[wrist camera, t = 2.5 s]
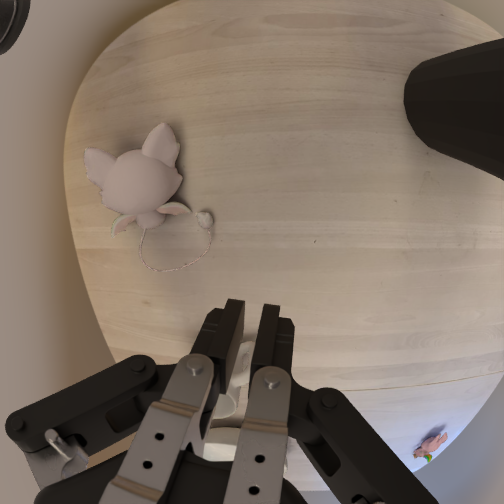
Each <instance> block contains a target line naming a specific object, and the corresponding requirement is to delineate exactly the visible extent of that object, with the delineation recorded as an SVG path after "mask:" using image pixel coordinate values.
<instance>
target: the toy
mask: <svg viewBox="0 0 504 504" xmlns="http://www.w3.org/2000/svg"><path fill="white" fill-rule="evenodd" d="M179 151H180V144H179V142H176V139H175V135H174V132H173V130H172V128H171V127H170V126H169V125H168V124H167V123H160V124H159V125H157V126H156V127H155V128H154V129H153V130H152V131H151V132H150V134H149V135H148V137H147V138H146V140H145V142H144V144H143V147H142V149H137V150H131V151H128V152H126V153H123V154H122V155H120V156H119V157H118V158H116V157H114V156H113V155H111V154H110V153H108V152H106V151H104V150H102V149H98V148H93V147H90V148H86V150H85V152H84V162H85V166H86V168H87V172H86V174H87V177H88V178H89V180H90V181H91V182H93V183H94V184H95V185H97V186H98V187H100V188H101V190H102V191H100V192H99V194H100V195H101V196H102V204H103V205H104V206H105V207H107V208H109V209H111V210H114V211H116V212H119V213H122V214H121V215H120V216H118V217H117V218H116V219H115V220H114V222H113V224H112V228H111V237H112V238H113V237H115V236H116V235H117V234H118V233H119V232H121V231H126V226H127V225H128V224H129V223H131V222H132V221H134V220H136V222H137V224H138V225H139V226H140V227H141V228H144V232H143V235H142V238H141V242H140V247H139V256H140V258H141V261H142V262H143V264H144V265H145V266H146V267H148V268H149V269H151V270H154V271H161V272H168V271H174V270H178V269H181V268H184V267H187V266H189V265H191V264H193V263H194V262H196V261H197V260H199V259H200V258H201V257H202V256H203V255H204V254H205V253H206V252H207V251H208V249H209V247H210V244H211V235H210V231H209V229H210V228H211V227H212V225H213V219H212V217H211V215H210V214H209V213H208V212H207V213H204V212H197V213H196V214H195V215H196V217H197V218H198V222H199V224H200V226H201V227H202V228H204V229H208V233H209V238H210V242H209V246H208V249H207V250H206V252H205V253H204V254H203V255H202V256H200V257H199V258H198V259H197V260H195V261H193V262H192V263H190V264H188V265H185V266H183V267H180V268H177V269H171V270H155V269H152V268H150V267H149V266H147V265H146V264H145V262H144V261H143V259H142V256H141V248H142V243H143V239H144V236H145V232H146V229H153V228H156V227H158V226H160V225H161V224H162V223H163V222H164V220H165V217H166V216H165V213H169V214H173V215H175V216H176V215H177V214H180V213H191V212H192V211H191V210H190V209H189V208H188V207H186V206H185V205H184V204H182V203H179V202H168V203H166V201H168V200H169V199H170V198H171V196H172V195H173V194H174V193H175V192H176V191H177V189H178V188H179V186H180V184H181V182H182V178H183V177H182V175H180V174H178V172H177V169H176V168H175V161H176V159H177V157H178V154H179Z"/></svg>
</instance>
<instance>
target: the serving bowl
mask: <svg viewBox="0 0 504 504" xmlns="http://www.w3.org/2000/svg"><path fill="white" fill-rule="evenodd" d="M240 430H241V429H239V428H230V427H220V428H212V429H209V432H208V435H207V438H206V442H205V445H204V454H203V458H204V459H206V460H208V461H233V460H234V456H235V452H236V447H237V443H238V439H239V434H240ZM286 472H287V458H286V457H285V466H284V473H283V475H284V474H285V473H286Z"/></svg>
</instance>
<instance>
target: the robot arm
mask: <svg viewBox="0 0 504 504" xmlns="http://www.w3.org/2000/svg"><path fill="white" fill-rule="evenodd" d="M17 11H18V0H0V44H1V43H2V42H3V41H4V40H5V38H6V37H7V35H8V34H9V32H10V30H11V28H12V26H13V24H14V21H15V18H16V15H17ZM279 312H280V306H279V305H271V304H264V306H263V311H262V316H261V320H260V325H259V329H258V334H257V338H256V342H255V347H254V351H253V356H252V360H251V367H250V379H249V391H248V404H247V408H246V413H245V418H244V421H243V422H242V426H241V430H240V434H239V439H238V443H237V447H236V452H235V456H234V460H233V461H208V460H206V459H204V458H203V454H204V445H205V442H206V438H207V435H208V432H209V429H210V426H211V423H212V419H213V416H214V413H215V410H216V404H217V401H218V397H219V394H223V395H226V393H227V390H228V386H229V383H230V379H231V376H232V372H233V369H234V365H235V362H236V358H237V355H238V351H239V348H240V344H241V341H242V336H243V330H244V314H245V301H242V300H236V299H228V300H227V303H226V305H225V308H224V309H220V308H214V309H213V310H212V311H211V312H209V313H208V314H207V316H206V319H205V321H204V324H203V325H202V327H201V330H200V332H199V334H198V336H197V338H196V341H195V343H194V345H193V347H192V350H191V352H190V354H189V355H186V356H184V357H183V358H181V359H180V360H179V362H178V363H176V364H171V365H156V364H155V362H154V360H153V359H152V358H150V357H149V356H146V355H134V356H131V357H129V358H127V359H125V360H123V361H121V362H119V363H117V364H115V365H113V366H111V367H109V368H107V369H105V370H103V371H101V372H99V373H97V374H95V375H93V376H90V377H88V378H86V379H84V380H82V381H80V382H78V383H76V384H74V385H72V386H70V387H68V388H65V389H63V390H61V391H59V392H57V393H55V394H53V395H50V396H48V397H46V398H44V399H42V400H40V401H38V402H36V403H33V404H31V405H28V406H26V407H24V408H22V409H20V410H17V411H15V412H13V413H12V414H10V415H9V417H8V418H7V420H6V424H5V430H6V433H7V435H8V436H9V437H10V438H11V439H12V440H13V441H14V442H15V443H16V444H17V445H18V447H19V448H20V449H21V450H22V451H23V452H24V454H25V456H26V459H27V461H28V463H29V466H30V468H31V471H32V473H33V475H34V477H35V479H36V482H37V484H38V486H39V488H40V490H41V491H40V492H39V493H38V495H37V496H36V498H35V501H34V504H308V503H307V502H306V501H305V500H304V498H303V497H302V495H301V494H300V493H299V491H298V490H297V489H296V488H295V487H294V486H293V485H292V484H291V483H290V482H289V481H288V480H286V479H285V478H283V473H284V466H285V457H286V449H287V440H288V436H290V437H292V438H295V439H296V441H297V443H298V444H299V446H300V447H301V449H302V450H303V452H304V453H305V455H306V456H307V458H308V459H309V460H310V462H311V463H312V465H313V466H314V468H315V469H316V470H317V472H318V473H319V475H320V476H321V477H322V479H323V480H324V481H325V483H326V484H327V486H328V487H329V488H330V490H331V491H332V492H333V494H334V495H335V496H336V498H337V499H338V500H339V502H340V503H341V504H439V503H438V501H437V500H436V499H435V498H434V497H433V496H432V495H431V493H430V492H429V491H428V490H427V489H426V488H425V487H424V486H423V485H422V483H421V482H420V481H419V480H418V479H417V478H416V477H415V476H414V475H413V473H412V472H411V471H410V470H409V469H408V468H407V467H406V466H405V464H404V463H403V462H402V461H401V460H400V459H399V458H398V457H397V455H396V454H395V453H394V452H393V451H392V450H391V449H390V448H389V446H388V445H387V444H386V443H385V442H384V441H383V440H382V438H381V437H380V436H379V435H378V434H377V433H376V432H375V430H374V429H373V428H372V427H371V426H370V425H369V423H368V422H367V421H366V420H365V419H364V418H363V416H362V415H361V414H360V413H359V412H358V411H357V410H356V408H355V407H354V406H353V405H352V404H351V403H350V401H349V400H348V399H347V398H346V397H345V395H344V394H343V393H341V392H340V391H338V390H337V389H334V388H328V387H326V388H320V389H318V390H316V391H312V390H309V389H306V388H304V387H302V386H300V385H299V384H298V383H296V381H295V380H294V379H293V377H292V374H291V366H292V355H293V343H294V331H295V326H294V324H293V322H292V320H291V319H290V318H282V317H279ZM136 431H137V433H136V435H135V437H134V439H133V441H132V444H131V446H130V448H129V450H126V451H124V452H122V453H120V454H118V455H116V456H114V457H112V458H110V459H108V460H106V461H104V462H102V463H100V464H98V465H95V466H93V467H91V468H89V469H87V470H86V468H87V464H88V459H89V458H88V457H89V456H91V455H93V454H95V453H97V452H99V451H101V450H103V449H105V448H107V447H108V446H111V445H112V444H114V443H116V442H118V441H120V440H122V439H123V438H125V437H127V436H129V435H130V434H132V433H134V432H136ZM81 471H82V472H81ZM79 472H80V473H79Z"/></svg>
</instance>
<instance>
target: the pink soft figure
mask: <svg viewBox="0 0 504 504" xmlns="http://www.w3.org/2000/svg"><path fill="white" fill-rule="evenodd" d="M440 435H441V434H439V435H438V436H437V437H430V438H428V439H427V440H426V441H424V442H423V443H422V444H421V448H419V449H417V450H416V451H414V454H413V456H414V458H417V457H425V459H427V461H428V462H430V461H431V459H432V455H430V454H429V452H433V451H435V450H437V449H438V448H439V446H440V444H441V443H443V442H445V441H446V440H447V433H445V434H444V435H443V436H442V437H441V438H440ZM439 438H440V439H439Z"/></svg>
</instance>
